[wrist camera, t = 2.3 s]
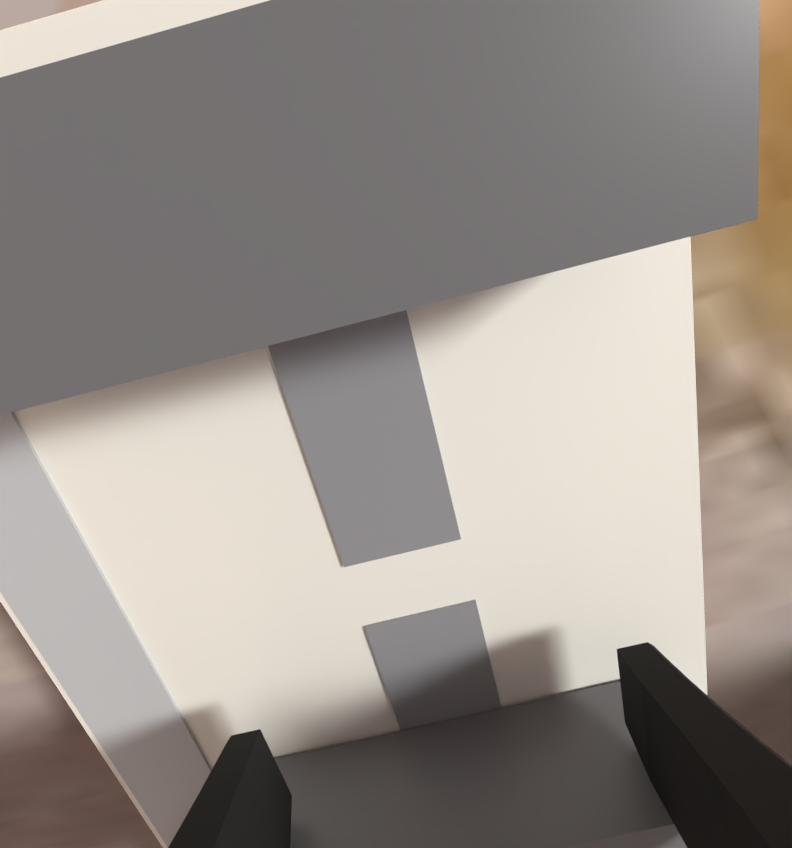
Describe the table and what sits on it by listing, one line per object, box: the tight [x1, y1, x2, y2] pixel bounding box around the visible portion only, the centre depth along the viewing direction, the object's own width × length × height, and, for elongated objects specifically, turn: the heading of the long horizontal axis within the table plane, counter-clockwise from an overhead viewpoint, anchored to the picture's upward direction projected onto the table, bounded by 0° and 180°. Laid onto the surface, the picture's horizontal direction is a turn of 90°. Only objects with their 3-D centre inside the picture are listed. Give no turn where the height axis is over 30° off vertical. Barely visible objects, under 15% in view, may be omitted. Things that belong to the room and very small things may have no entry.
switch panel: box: [0, 0, 707, 848], centre depth 13 cm, size 14×31×3 cm, turn 14°
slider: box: [0, 0, 759, 415], centre depth 7 cm, size 10×3×3 cm, turn 104°
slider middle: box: [275, 681, 687, 848], centre depth 12 cm, size 10×3×3 cm, turn 104°
